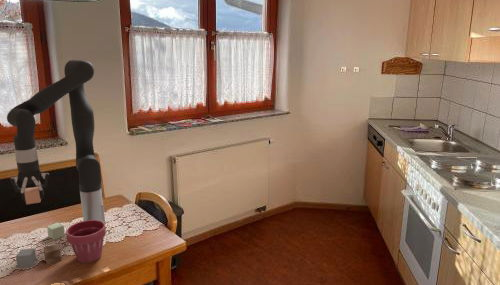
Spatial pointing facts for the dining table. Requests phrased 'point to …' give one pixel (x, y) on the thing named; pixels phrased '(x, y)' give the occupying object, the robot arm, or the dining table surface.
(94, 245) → the plant pot
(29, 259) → the slate cube
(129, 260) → the dining table surface
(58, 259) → the walnut cube
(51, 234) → the sage cube
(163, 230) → the dining table surface
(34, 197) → the terracotta cube
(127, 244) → the dining table surface
